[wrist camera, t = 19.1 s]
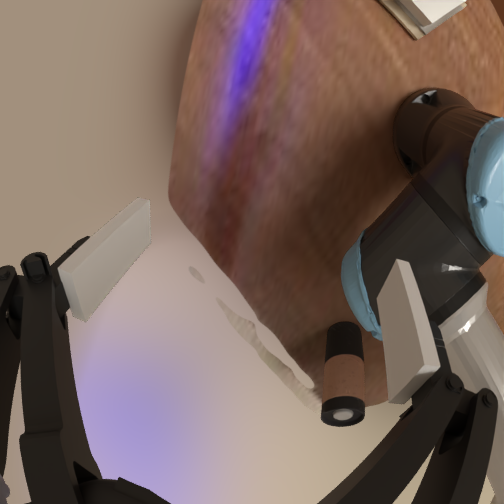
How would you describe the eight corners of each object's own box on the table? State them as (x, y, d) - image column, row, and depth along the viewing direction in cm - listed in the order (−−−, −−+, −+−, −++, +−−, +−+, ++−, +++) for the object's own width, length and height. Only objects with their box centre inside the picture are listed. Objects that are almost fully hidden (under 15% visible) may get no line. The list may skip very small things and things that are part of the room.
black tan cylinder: (368, 336, 58) (372, 420, 42) (337, 349, 62) (333, 430, 46) (351, 315, 56) (353, 403, 40) (319, 329, 60) (311, 415, 43)
